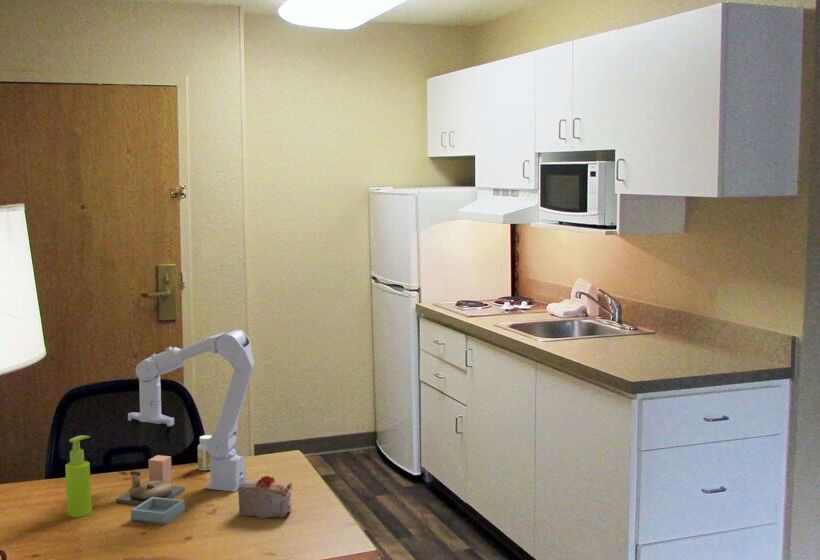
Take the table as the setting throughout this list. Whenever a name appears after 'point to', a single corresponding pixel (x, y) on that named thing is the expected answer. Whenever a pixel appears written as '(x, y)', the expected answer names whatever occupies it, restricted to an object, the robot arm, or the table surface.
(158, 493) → the crank
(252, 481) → the food item
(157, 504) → the tray
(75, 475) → the soap dispenser
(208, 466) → the supplement bottle
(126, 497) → the crank base
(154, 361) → the robot arm
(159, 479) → the block
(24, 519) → the table surface
